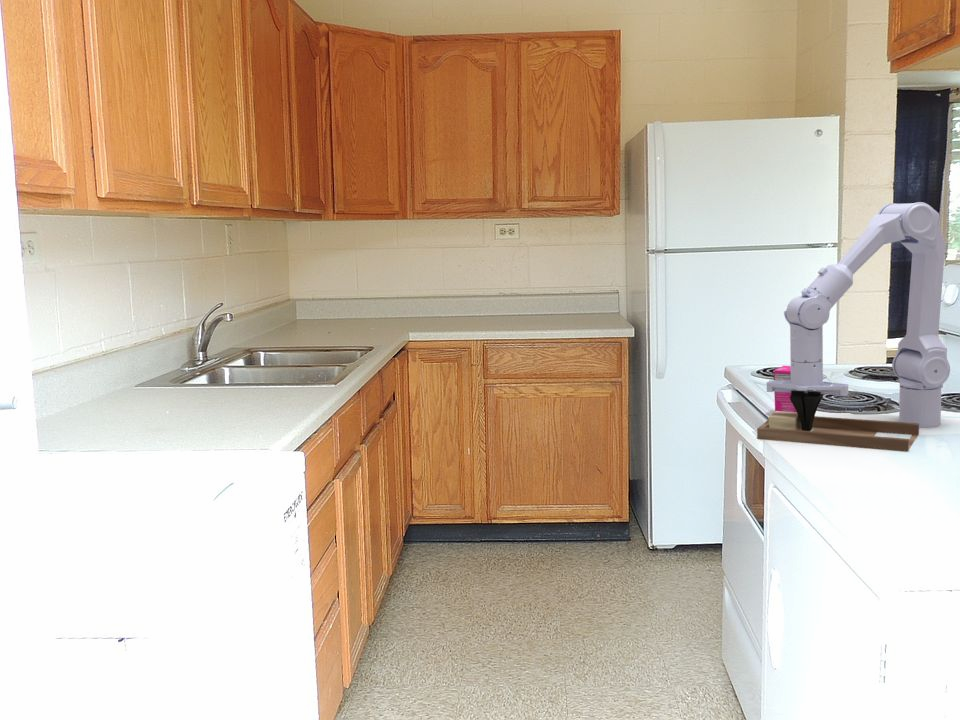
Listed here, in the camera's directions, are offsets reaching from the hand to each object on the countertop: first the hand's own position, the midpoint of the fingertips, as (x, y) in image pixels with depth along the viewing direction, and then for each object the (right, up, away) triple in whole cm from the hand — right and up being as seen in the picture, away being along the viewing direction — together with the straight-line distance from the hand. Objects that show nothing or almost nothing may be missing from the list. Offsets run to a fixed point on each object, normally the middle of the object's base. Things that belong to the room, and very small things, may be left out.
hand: (806, 430), depth 170 cm
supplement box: (+3, 0, +16) cm, 17 cm away
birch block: (-3, -1, +2) cm, 4 cm away
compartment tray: (+5, -2, -3) cm, 6 cm away
